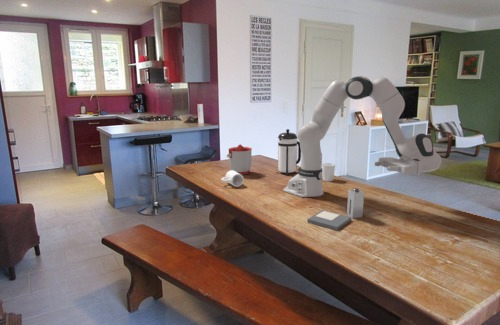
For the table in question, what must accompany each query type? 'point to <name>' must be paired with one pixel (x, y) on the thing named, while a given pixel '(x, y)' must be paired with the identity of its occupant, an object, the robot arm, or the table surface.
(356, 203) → the aluminium block
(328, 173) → the white cup
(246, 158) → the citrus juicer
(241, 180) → the mug
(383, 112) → the robot arm
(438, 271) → the table surface
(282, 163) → the coffee press
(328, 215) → the dock board
